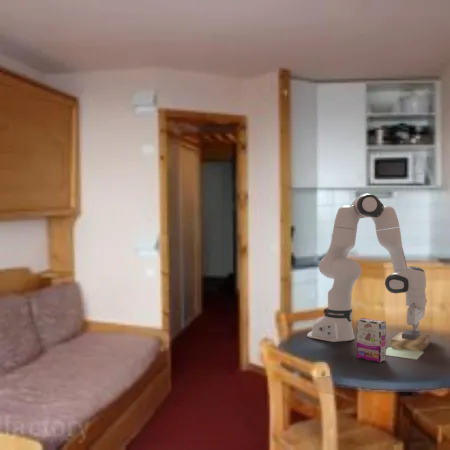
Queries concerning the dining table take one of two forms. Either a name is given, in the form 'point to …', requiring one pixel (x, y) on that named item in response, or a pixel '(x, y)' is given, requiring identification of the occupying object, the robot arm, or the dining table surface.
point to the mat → (403, 353)
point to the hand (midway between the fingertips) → (415, 330)
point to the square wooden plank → (410, 342)
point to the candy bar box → (371, 340)
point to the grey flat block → (411, 334)
